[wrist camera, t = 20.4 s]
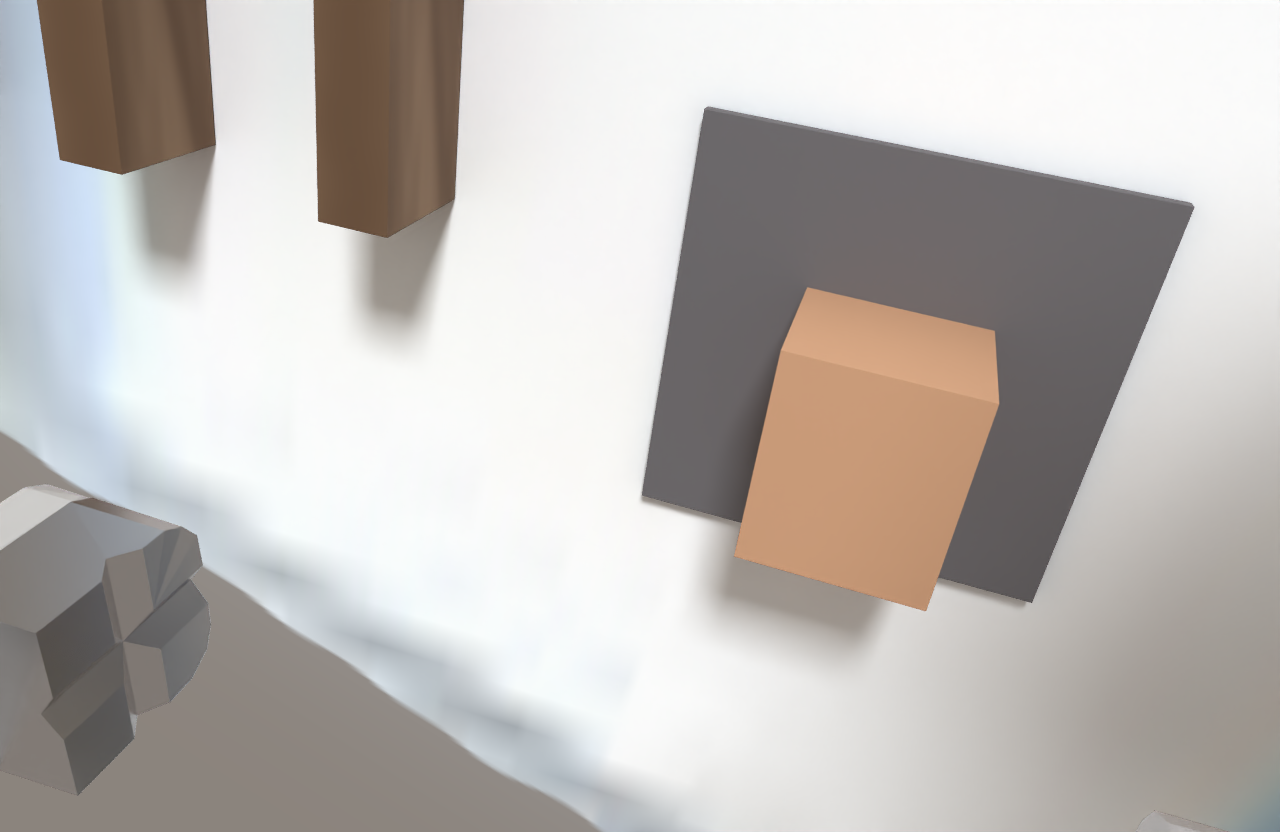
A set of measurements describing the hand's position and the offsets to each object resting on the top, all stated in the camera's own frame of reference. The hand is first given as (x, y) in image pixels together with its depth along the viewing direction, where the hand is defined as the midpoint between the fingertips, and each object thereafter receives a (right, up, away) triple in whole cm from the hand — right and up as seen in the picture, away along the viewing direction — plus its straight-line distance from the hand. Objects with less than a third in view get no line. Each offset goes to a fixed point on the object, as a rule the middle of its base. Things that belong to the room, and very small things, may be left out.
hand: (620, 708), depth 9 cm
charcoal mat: (+7, +4, +20) cm, 21 cm away
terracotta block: (+7, +3, +20) cm, 21 cm away
